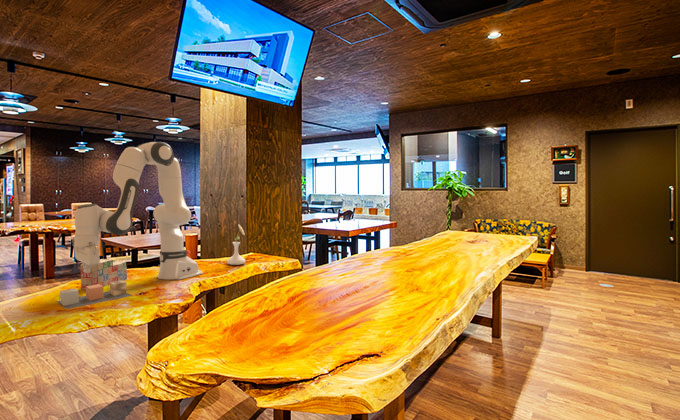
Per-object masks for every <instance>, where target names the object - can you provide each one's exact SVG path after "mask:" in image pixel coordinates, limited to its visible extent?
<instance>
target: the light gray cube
mask: <svg viewBox="0 0 680 420" xmlns="http://www.w3.org/2000/svg"><path fill="white" fill-rule="evenodd" d="M79 293H80V292H79V290H78V289H76V288H70V289H68V288H67V289H64V290H63V289H62V290H59V301H60V303H61V304H62V305H64V306H65V305H70V304H75V303H79V297H80V295H79ZM62 305H61V306H62Z"/></svg>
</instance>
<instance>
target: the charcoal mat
mask: <svg viewBox="0 0 680 420" xmlns="http://www.w3.org/2000/svg"><path fill="white" fill-rule="evenodd" d="M129 297H133V294H130V293H128V292H127V291H126V293H125V294H120V295H115V296H114V295H112V294H110V290H109V291H104V298H100V299H95V300H89V299H87V298H86V295H82V296H79V303H75V304H70V305H65V306H64V305H62V304H61V303H60V300H56V303H58V304H59V305H60V306H61V307H63V308H64V309H65V310H70V309H75V308H81V307H84V306H89V305H93V304H99V303H104V302H108V301H114V300H118V299H123V298H129Z"/></svg>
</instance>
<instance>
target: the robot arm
mask: <svg viewBox="0 0 680 420" xmlns="http://www.w3.org/2000/svg"><path fill="white" fill-rule="evenodd" d="M146 165H151V166H154V165H155V166H156V169H157V179H158V193H159V195H160V197H161V199H162V201H163V203H161V204H158V205H157V206H155V208H154V209H153V214H152V215H153V217H154V219H155V220H156V224H157V227H158V231H159V237H160V250H159V263H160V266H159V269H158V270H159V271H158V275H157V278H158V280H159V279H160V280H184V279H189V278H192V277H195V276H199V275H203V274H204V273H203V271H202V270H201V269H199V266H198V263H197V262H196V261H195V260H194V259H192V258H191V257H189V256H188V255H190V254H191V251H190V250H188V249H185V248H184V233H182V231H181V228H180V226H183V225H186V224H188V223H189V222H190V221H191V219H192V211H191V210H190V209H189V207H188V205H187V203H186V199H185V196H184V193H183V182H182V181H183V180H182V171H181V165H180V162H179V159H178V158H176V157H175V155H174V151H173V149H172V147H171V145H169V144H168V143H167V142H164V141H163V142H162V141H150V142H145V143H140V144H139V145H137V146H136V147H135V146H128V147H126V148H125V149H124V150H123V151H122V152H121V154H120V156H119V158H118V160H117V161H116V164H115V167H114V170H113V172H112V180H113V182H114V184H115V185H116V186H118V187H119V188H120V192H121V193H120V198H119V200H118V205H117V208H116V210H115V211H111V210H108V209H106V208H103V207H101V206H99V205H98V204H96V203H87V204H81V205H79V206H78V207H77V208H76V210H75V213H74V227H75V232H74V237H73V239H72V244H73V251H74V257H75V259H76V260H77V261H79V262H81V264H82V265H83V268H84V272H85V273H90V270H91V266H93V265H99V262H100V250H99V247H98V246H100V232H104V233H107V234H108V233H109V234H113V235H114V236H124V235H125V234H128V232H130V231H131V229H132V226H133V223H134V222H133V221H134V220H133V213H134V209H135V206H136V205H135V204H136V201H137V197H138V194H139V188H140V187H139V185H140V184H139V183H140V178H141V175H142V173H143V170H144V168H145V166H146Z"/></svg>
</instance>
